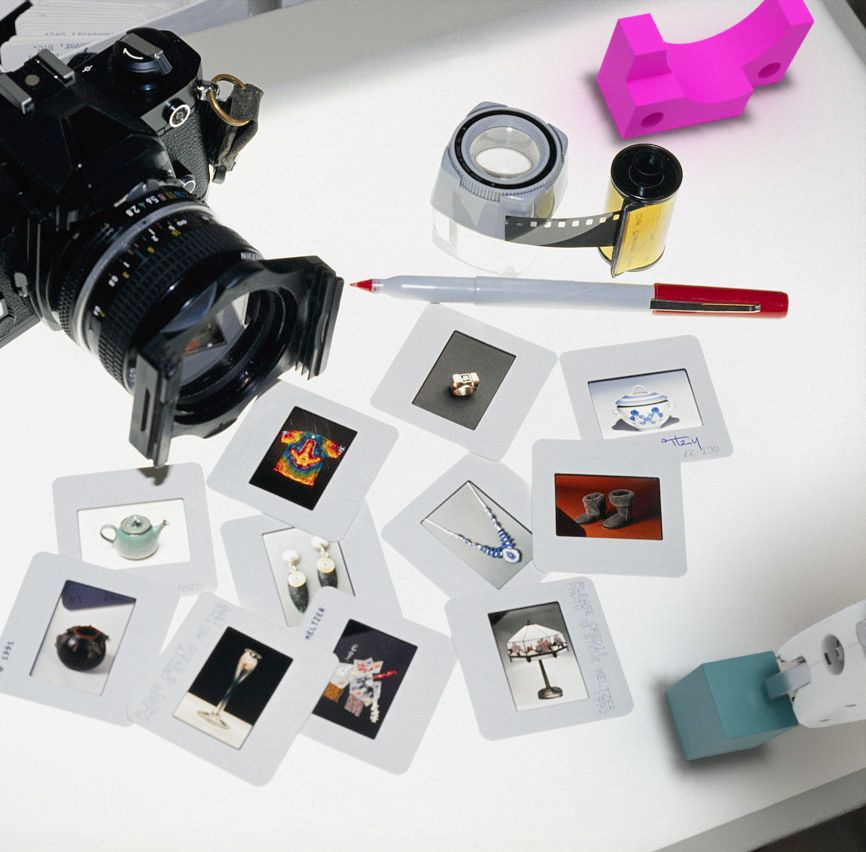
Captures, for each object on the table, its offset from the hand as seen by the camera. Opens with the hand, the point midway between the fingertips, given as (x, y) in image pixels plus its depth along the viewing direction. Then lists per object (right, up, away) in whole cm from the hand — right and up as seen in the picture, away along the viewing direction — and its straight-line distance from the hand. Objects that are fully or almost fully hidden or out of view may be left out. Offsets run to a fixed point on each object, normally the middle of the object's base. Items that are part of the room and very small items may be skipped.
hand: (808, 696), depth 79 cm
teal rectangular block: (-6, -2, +2) cm, 7 cm away
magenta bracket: (0, +45, +23) cm, 51 cm away
